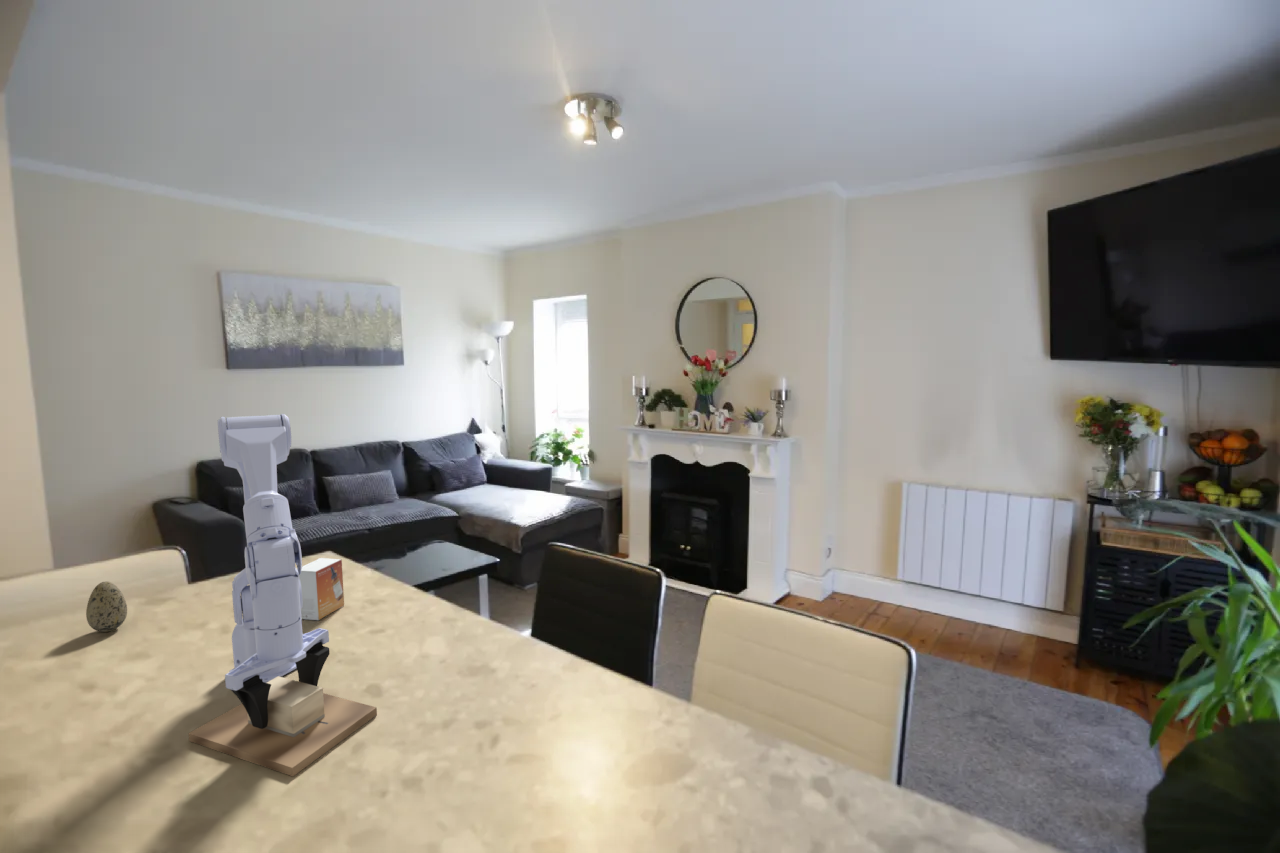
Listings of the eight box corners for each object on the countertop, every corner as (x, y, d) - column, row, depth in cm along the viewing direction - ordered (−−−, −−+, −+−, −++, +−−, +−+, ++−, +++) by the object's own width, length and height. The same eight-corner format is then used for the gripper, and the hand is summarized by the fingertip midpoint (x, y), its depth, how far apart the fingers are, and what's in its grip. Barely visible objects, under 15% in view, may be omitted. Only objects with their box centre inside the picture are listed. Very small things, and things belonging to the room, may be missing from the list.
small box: (318, 621, 120) (315, 571, 119) (294, 619, 121) (291, 570, 120) (345, 605, 128) (342, 558, 126) (323, 603, 129) (320, 557, 127)
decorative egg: (88, 630, 116) (83, 581, 115) (128, 621, 120) (123, 574, 119) (88, 640, 112) (82, 590, 111) (129, 631, 116) (124, 582, 115)
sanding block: (248, 723, 84) (245, 693, 84) (280, 704, 89) (278, 676, 88) (293, 737, 81) (291, 706, 81) (324, 716, 86) (322, 687, 85)
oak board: (189, 741, 82) (188, 733, 82) (281, 688, 95) (280, 681, 95) (293, 776, 75) (292, 767, 75) (376, 714, 88) (376, 707, 88)
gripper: (248, 649, 75) (256, 748, 77) (341, 605, 89) (347, 689, 90) (211, 640, 78) (219, 735, 79) (307, 598, 91) (313, 681, 93)
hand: (285, 710), depth 85 cm, fingers open, 7 cm apart
